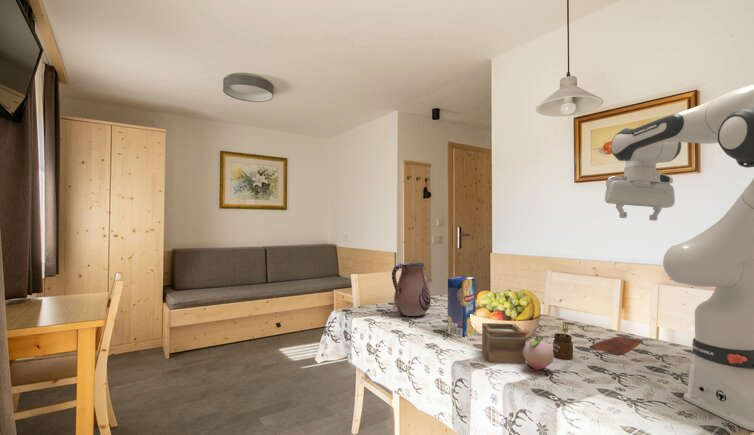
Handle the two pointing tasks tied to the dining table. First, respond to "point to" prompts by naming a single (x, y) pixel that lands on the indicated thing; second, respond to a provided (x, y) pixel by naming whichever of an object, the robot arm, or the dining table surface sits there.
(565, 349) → the utensil holder
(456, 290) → the beverage box
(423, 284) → the ceramic pitcher
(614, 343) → the wooden tablet
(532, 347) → the decorative fruit
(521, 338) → the walnut box
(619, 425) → the dining table surface
